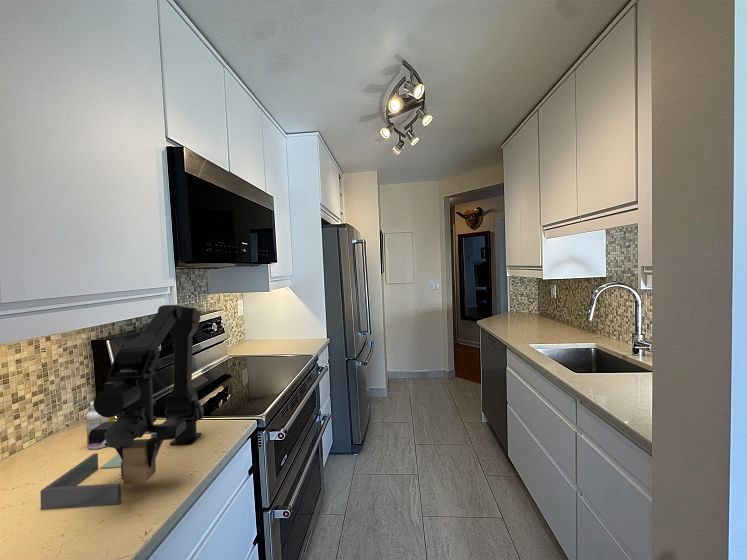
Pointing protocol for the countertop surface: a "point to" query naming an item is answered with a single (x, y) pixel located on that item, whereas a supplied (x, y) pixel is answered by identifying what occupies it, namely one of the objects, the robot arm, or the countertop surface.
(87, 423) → the supplement bottle
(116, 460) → the mat
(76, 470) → the bent rails
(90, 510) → the countertop surface
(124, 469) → the walnut block
